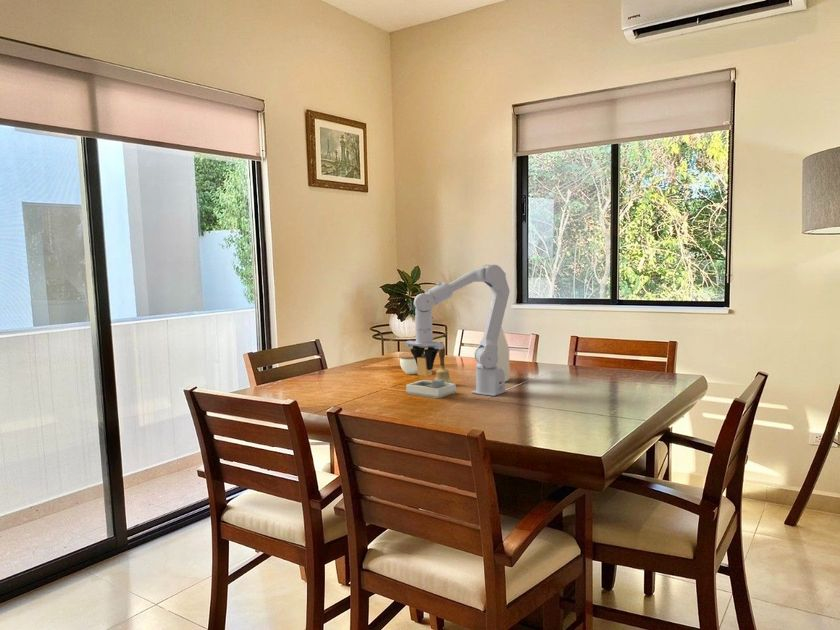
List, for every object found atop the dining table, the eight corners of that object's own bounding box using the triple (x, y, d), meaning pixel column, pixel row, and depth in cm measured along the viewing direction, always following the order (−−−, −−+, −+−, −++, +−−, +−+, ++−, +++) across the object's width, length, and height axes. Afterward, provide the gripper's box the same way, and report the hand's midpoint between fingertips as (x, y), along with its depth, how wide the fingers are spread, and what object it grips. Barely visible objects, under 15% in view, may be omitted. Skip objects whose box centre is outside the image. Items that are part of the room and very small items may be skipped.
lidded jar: (395, 372, 255) (394, 350, 254) (418, 369, 259) (418, 347, 258) (406, 376, 245) (405, 353, 244) (430, 373, 249) (429, 350, 249)
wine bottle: (509, 377, 236) (507, 300, 233) (510, 382, 226) (508, 302, 224) (484, 378, 237) (482, 300, 234) (484, 382, 227) (482, 302, 225)
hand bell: (427, 386, 225) (426, 343, 223) (437, 382, 232) (436, 340, 231) (448, 387, 221) (447, 344, 219) (457, 383, 228) (456, 341, 227)
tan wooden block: (432, 374, 208) (431, 353, 207) (426, 376, 205) (425, 354, 204) (423, 373, 210) (423, 352, 209) (417, 375, 207) (416, 354, 207)
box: (455, 392, 212) (455, 378, 212) (438, 398, 204) (438, 383, 204) (423, 388, 221) (423, 374, 220) (406, 393, 213) (405, 379, 212)
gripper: (399, 329, 208) (401, 368, 209) (434, 331, 199) (435, 372, 200) (412, 327, 213) (413, 365, 214) (446, 329, 204) (447, 369, 206)
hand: (425, 368), depth 208 cm, fingers closed on tan wooden block, 3 cm apart
